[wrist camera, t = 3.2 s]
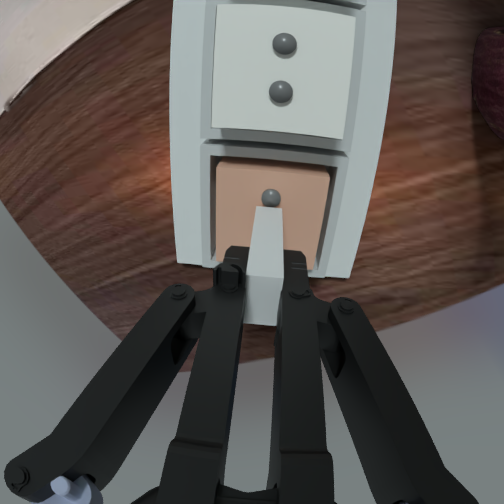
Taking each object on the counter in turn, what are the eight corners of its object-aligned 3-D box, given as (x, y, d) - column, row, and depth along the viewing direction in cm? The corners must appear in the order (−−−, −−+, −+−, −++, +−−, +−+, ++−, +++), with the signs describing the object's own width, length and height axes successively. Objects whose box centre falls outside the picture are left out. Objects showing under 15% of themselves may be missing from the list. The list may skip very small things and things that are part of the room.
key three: (224, 153, 19) (215, 168, 17) (322, 162, 19) (330, 178, 16) (223, 238, 23) (215, 262, 20) (309, 245, 23) (313, 271, 20)
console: (191, -99, 9) (178, -119, 6) (389, -82, 8) (405, -100, 6) (180, 255, 25) (168, 281, 22) (346, 270, 25) (354, 298, 22)
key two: (227, 15, 13) (216, 3, 10) (343, 25, 13) (356, 16, 10) (221, 118, 16) (210, 128, 14) (332, 128, 16) (343, 140, 14)
